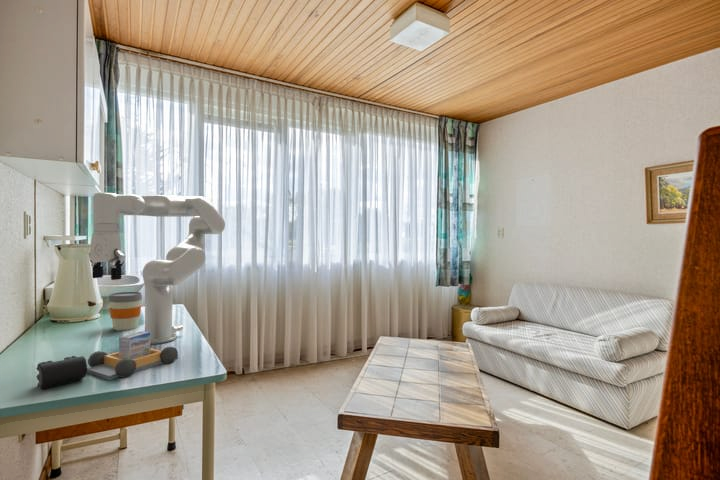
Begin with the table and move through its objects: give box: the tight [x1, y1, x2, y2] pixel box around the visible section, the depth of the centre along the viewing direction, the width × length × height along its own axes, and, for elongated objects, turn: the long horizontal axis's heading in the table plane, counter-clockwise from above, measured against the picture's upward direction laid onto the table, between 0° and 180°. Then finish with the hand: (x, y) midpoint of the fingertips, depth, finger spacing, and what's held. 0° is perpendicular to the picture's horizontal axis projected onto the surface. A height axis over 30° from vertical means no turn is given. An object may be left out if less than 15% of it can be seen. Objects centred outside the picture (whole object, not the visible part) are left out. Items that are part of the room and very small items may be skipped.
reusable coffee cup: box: [108, 291, 143, 331], centre depth 167 cm, size 13×13×15 cm
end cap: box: [36, 355, 88, 390], centre depth 105 cm, size 10×7×7 cm
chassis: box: [86, 344, 179, 381], centre depth 120 cm, size 22×16×5 cm
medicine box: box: [118, 330, 150, 360], centre depth 120 cm, size 8×4×9 cm, turn 162°
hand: (106, 278), depth 130 cm, fingers open, 9 cm apart
